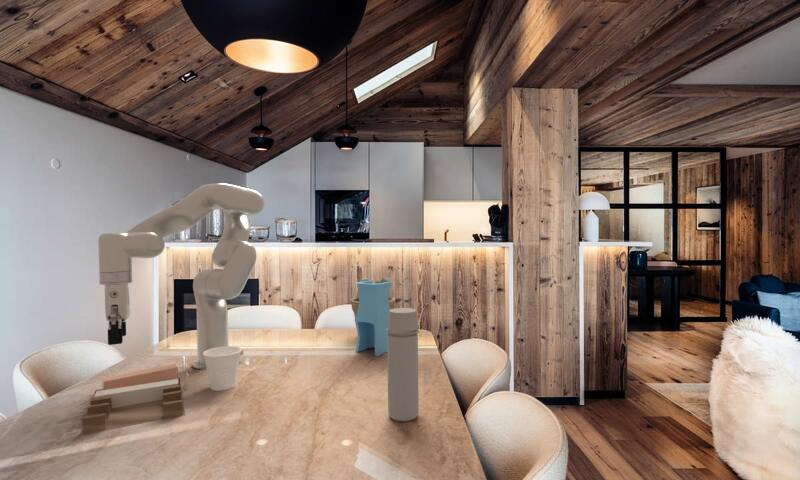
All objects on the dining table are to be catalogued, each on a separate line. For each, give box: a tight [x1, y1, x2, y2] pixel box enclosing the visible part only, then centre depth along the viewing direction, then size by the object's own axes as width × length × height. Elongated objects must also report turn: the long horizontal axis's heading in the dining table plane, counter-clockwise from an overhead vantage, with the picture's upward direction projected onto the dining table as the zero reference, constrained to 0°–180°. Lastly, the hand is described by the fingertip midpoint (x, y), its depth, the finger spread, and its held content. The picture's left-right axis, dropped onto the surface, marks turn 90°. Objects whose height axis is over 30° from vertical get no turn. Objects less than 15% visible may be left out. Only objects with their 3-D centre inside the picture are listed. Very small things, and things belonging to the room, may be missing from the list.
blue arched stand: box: [354, 279, 392, 357], centre depth 158 cm, size 10×10×25 cm
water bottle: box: [386, 307, 421, 423], centre depth 102 cm, size 9×8×25 cm
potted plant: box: [350, 276, 396, 317], centre depth 180 cm, size 18×19×25 cm
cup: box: [203, 345, 242, 392], centre depth 120 cm, size 10×10×11 cm
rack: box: [79, 376, 186, 436], centre depth 105 cm, size 20×20×4 cm
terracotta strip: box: [101, 363, 179, 389], centre depth 122 cm, size 18×4×5 cm, turn 131°
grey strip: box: [93, 379, 178, 408], centre depth 110 cm, size 18×4×4 cm, turn 118°
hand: (117, 340), depth 119 cm, fingers open, 9 cm apart
